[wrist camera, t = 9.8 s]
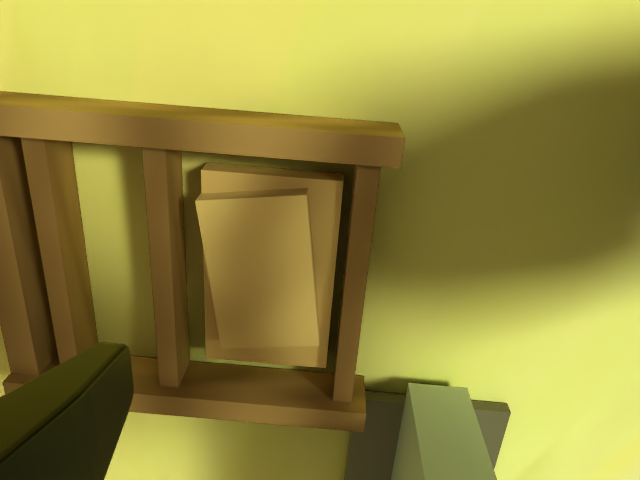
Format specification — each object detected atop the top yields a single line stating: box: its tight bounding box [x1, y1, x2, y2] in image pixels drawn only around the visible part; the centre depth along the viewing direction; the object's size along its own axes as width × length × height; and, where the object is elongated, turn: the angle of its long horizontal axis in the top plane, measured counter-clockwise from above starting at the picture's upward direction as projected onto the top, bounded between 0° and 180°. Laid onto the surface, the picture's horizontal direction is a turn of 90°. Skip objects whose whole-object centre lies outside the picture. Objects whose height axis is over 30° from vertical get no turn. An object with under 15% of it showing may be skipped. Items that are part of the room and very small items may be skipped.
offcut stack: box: [195, 163, 343, 368], centre depth 20 cm, size 5×8×2 cm, turn 176°
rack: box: [0, 91, 405, 432], centre depth 20 cm, size 15×12×2 cm
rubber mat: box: [344, 391, 511, 480], centre depth 25 cm, size 7×7×1 cm
